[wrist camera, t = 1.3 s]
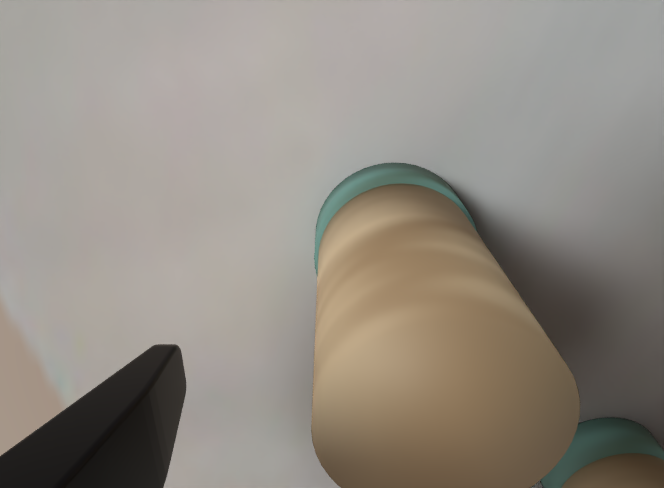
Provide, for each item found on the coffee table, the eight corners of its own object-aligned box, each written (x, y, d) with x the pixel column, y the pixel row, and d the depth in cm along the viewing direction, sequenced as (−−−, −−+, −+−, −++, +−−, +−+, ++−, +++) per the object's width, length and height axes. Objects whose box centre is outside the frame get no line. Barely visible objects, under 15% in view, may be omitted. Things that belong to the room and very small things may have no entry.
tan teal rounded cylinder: (474, 162, 13) (620, 311, 6) (456, 298, 14) (554, 519, 8) (314, 162, 13) (301, 311, 6) (316, 299, 14) (307, 521, 8)
